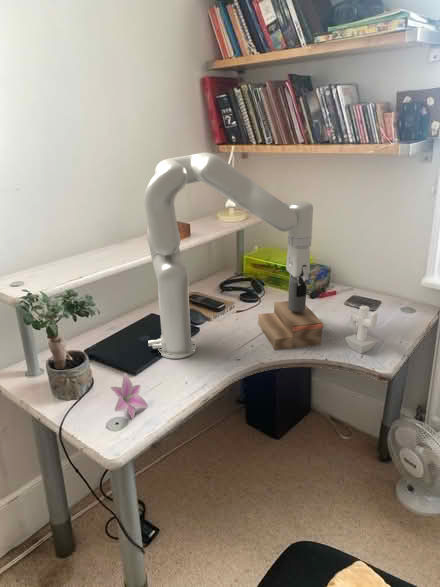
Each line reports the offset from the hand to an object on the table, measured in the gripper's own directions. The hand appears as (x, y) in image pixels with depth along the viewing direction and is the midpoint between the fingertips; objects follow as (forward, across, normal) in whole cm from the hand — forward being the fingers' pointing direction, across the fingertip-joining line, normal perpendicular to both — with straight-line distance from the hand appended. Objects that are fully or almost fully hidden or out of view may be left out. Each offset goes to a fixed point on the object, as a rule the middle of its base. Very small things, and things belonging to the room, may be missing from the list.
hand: (297, 292), depth 154 cm
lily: (+16, +32, -58) cm, 68 cm away
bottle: (+6, 0, 0) cm, 6 cm away
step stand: (+15, 0, -3) cm, 16 cm away
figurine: (+15, +16, +16) cm, 28 cm away
